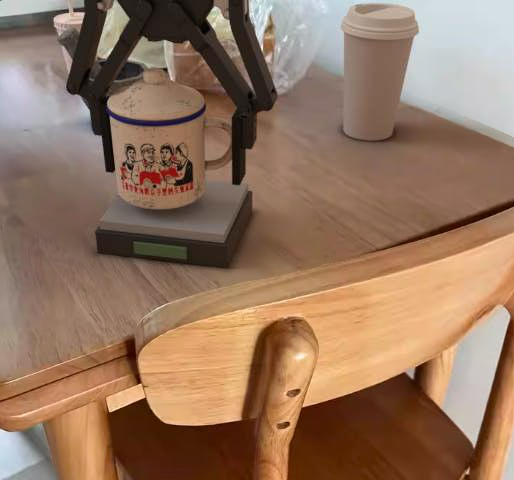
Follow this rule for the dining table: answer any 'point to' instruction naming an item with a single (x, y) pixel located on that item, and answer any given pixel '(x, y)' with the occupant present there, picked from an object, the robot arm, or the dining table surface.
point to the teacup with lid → (161, 142)
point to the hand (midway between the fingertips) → (175, 173)
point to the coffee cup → (375, 66)
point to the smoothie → (67, 22)
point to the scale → (179, 227)
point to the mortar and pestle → (126, 76)
